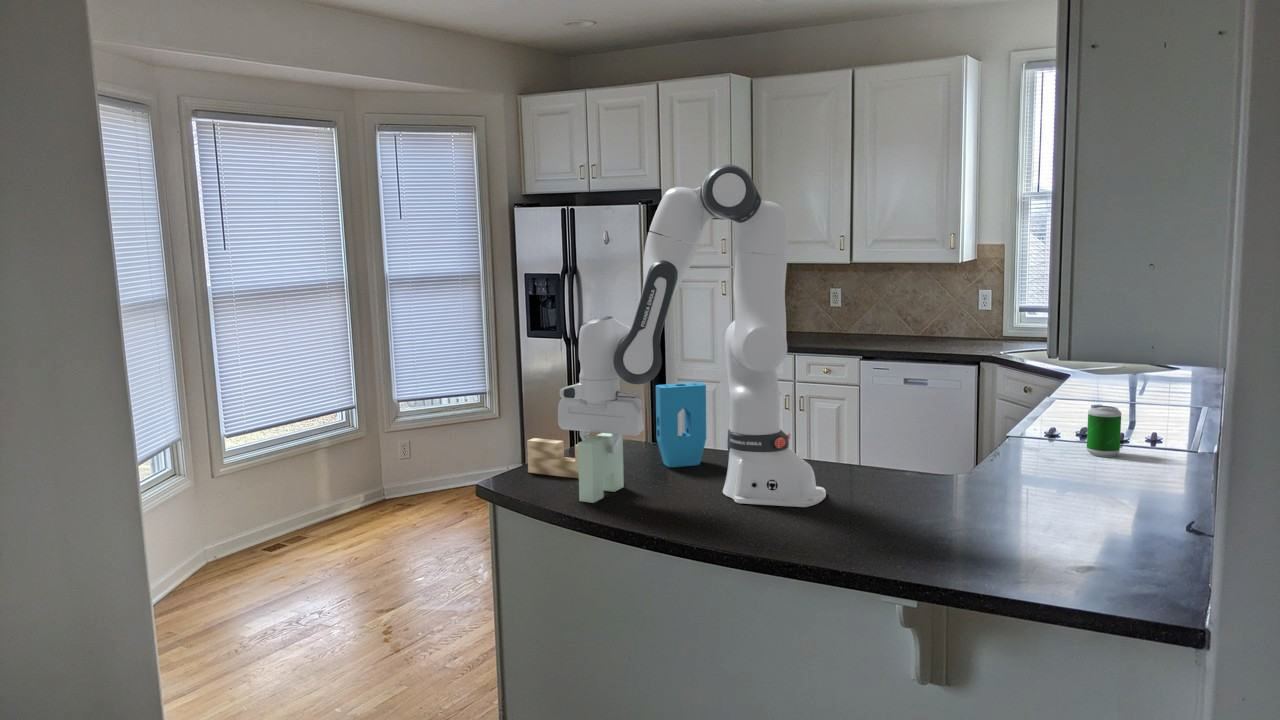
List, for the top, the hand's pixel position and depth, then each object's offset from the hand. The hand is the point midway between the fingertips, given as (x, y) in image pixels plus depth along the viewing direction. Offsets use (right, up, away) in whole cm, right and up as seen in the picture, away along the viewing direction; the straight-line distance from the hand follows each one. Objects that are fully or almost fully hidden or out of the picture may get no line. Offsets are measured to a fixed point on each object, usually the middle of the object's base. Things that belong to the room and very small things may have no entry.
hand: (601, 451), depth 211 cm
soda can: (+125, -4, +29) cm, 129 cm away
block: (+19, -6, +27) cm, 34 cm away
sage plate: (0, -10, +1) cm, 10 cm away
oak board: (-8, -7, +18) cm, 21 cm away
